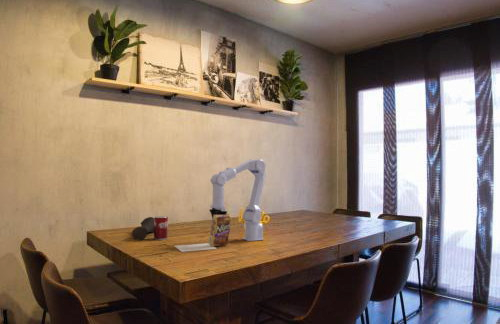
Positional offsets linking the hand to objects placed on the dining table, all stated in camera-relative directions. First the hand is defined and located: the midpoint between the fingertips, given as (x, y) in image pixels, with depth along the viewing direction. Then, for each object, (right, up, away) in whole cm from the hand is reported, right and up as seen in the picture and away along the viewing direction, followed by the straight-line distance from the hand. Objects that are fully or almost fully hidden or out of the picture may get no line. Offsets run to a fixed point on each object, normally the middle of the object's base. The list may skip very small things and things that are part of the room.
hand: (217, 223), depth 173 cm
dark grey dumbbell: (-42, -11, +19) cm, 48 cm away
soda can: (-32, -10, +10) cm, 35 cm away
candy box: (0, -10, -5) cm, 11 cm away
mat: (-10, -10, -10) cm, 17 cm away
